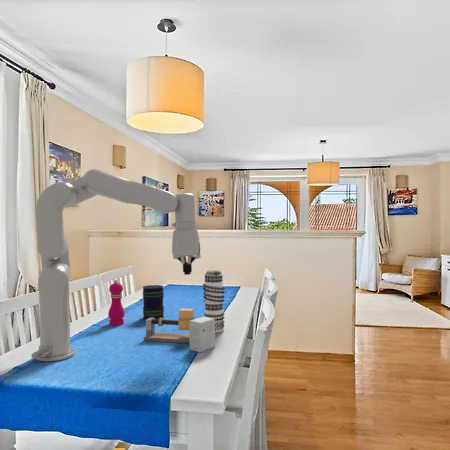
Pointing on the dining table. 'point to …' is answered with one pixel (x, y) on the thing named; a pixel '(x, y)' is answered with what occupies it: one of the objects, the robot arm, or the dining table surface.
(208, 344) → the small box
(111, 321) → the pepper mill
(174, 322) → the slider rail stand
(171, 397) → the dining table surface
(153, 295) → the storage jar
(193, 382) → the dining table surface
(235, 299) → the dining table surface
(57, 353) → the robot arm
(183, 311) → the wooden slider block
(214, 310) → the decorative candle
